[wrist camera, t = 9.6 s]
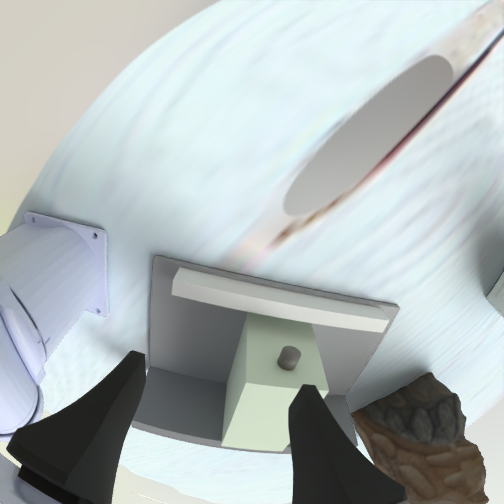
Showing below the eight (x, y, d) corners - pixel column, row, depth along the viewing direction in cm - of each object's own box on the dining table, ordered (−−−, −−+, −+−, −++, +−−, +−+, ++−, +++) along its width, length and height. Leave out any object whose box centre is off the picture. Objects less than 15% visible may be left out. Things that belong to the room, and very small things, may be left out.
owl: (439, 362, 24) (505, 491, 6) (443, 401, 28) (486, 498, 10) (348, 412, 27) (380, 554, 8) (371, 439, 31) (397, 543, 12)
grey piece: (151, 371, 24) (132, 427, 17) (155, 254, 19) (115, 309, 12) (337, 399, 25) (350, 451, 19) (397, 305, 20) (435, 359, 14)
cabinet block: (226, 383, 23) (221, 445, 17) (251, 299, 20) (249, 371, 13) (277, 390, 24) (282, 451, 17) (315, 311, 20) (336, 380, 14)
